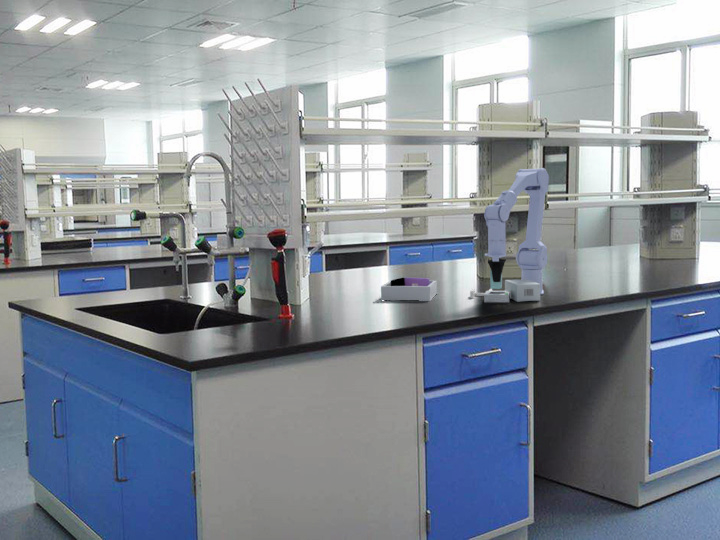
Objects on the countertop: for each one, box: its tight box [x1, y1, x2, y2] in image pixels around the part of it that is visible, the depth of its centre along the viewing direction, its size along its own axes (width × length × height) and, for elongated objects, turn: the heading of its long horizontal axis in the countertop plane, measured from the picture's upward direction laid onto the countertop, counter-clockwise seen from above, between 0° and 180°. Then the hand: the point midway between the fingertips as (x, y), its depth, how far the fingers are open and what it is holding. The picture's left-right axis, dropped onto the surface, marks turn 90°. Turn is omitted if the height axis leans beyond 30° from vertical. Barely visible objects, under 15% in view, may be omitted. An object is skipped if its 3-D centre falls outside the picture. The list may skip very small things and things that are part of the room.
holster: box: [469, 288, 494, 299], centre depth 265 cm, size 6×7×2 cm
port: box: [483, 290, 511, 304], centre depth 255 cm, size 10×8×3 cm
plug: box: [489, 269, 503, 290], centre depth 254 cm, size 4×4×7 cm
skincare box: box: [504, 278, 541, 303], centre depth 259 cm, size 8×6×15 cm
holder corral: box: [380, 280, 438, 302], centre depth 269 cm, size 17×17×5 cm
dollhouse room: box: [390, 277, 430, 286], centre depth 269 cm, size 12×12×7 cm
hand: (497, 281), depth 254 cm, fingers closed on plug, 4 cm apart
